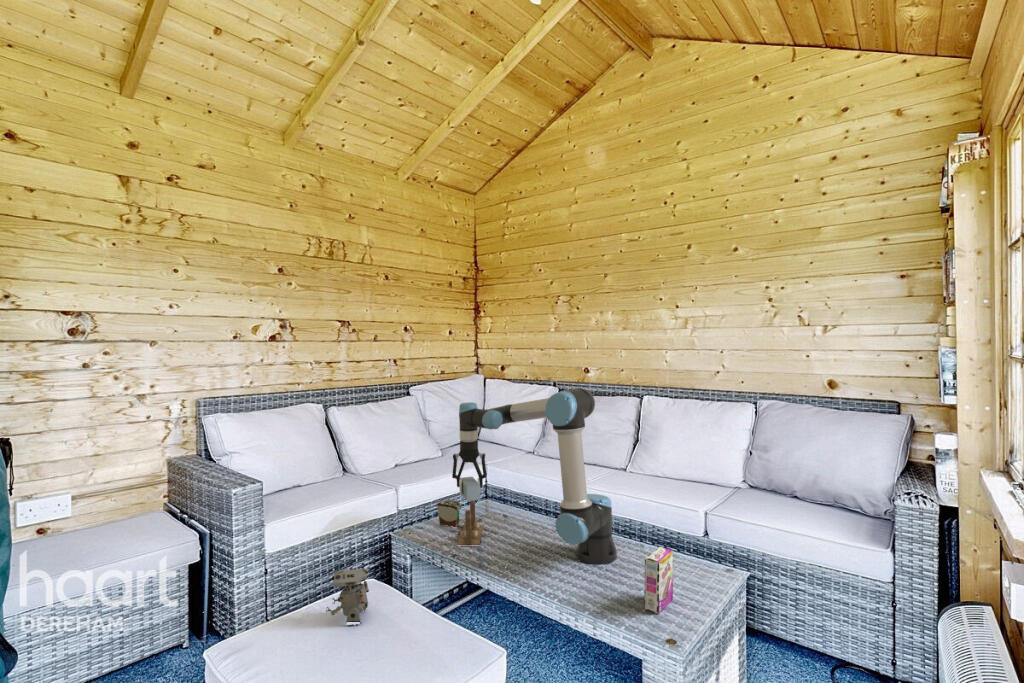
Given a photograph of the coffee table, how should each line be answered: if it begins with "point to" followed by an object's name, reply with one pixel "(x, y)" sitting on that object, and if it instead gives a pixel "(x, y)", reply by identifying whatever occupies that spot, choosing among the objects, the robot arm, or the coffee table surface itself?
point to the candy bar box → (658, 580)
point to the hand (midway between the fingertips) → (470, 494)
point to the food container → (449, 512)
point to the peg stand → (470, 528)
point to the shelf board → (470, 489)
